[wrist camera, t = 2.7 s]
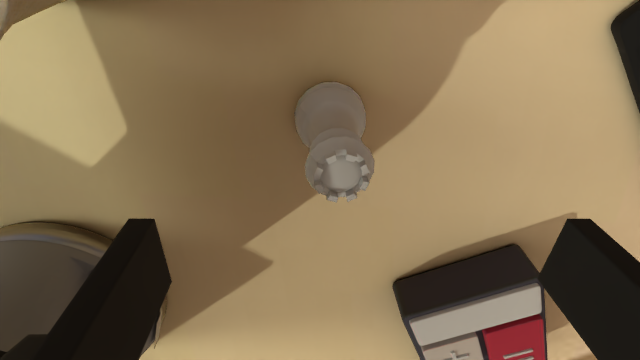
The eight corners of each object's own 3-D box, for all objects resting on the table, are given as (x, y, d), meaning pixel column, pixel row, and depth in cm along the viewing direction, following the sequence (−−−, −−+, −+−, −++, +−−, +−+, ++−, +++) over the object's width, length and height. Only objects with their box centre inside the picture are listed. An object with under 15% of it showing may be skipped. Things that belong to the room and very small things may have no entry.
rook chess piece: (281, 126, 22) (273, 195, 16) (317, 65, 21) (325, 113, 14) (339, 156, 24) (355, 232, 17) (378, 102, 22) (412, 162, 15)
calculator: (440, 405, 35) (403, 327, 27) (426, 362, 38) (390, 282, 30) (553, 377, 33) (550, 284, 25) (528, 335, 37) (518, 242, 29)
